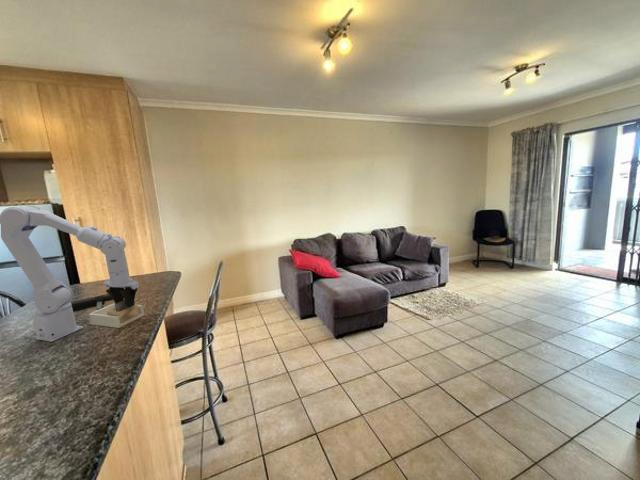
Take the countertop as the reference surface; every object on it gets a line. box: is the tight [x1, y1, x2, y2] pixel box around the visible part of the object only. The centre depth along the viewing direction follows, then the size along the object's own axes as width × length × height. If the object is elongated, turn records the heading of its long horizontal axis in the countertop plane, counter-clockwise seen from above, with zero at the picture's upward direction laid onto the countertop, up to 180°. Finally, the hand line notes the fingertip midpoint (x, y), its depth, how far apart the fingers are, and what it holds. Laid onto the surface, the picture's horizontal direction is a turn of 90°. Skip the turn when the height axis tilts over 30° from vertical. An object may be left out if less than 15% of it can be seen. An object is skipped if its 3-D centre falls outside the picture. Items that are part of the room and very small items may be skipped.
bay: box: [87, 302, 145, 329], centre depth 101 cm, size 10×14×4 cm
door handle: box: [71, 293, 113, 313], centre depth 115 cm, size 3×20×16 cm
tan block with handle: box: [106, 300, 139, 323], centre depth 99 cm, size 7×6×7 cm
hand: (125, 305), depth 99 cm, fingers open, 4 cm apart
